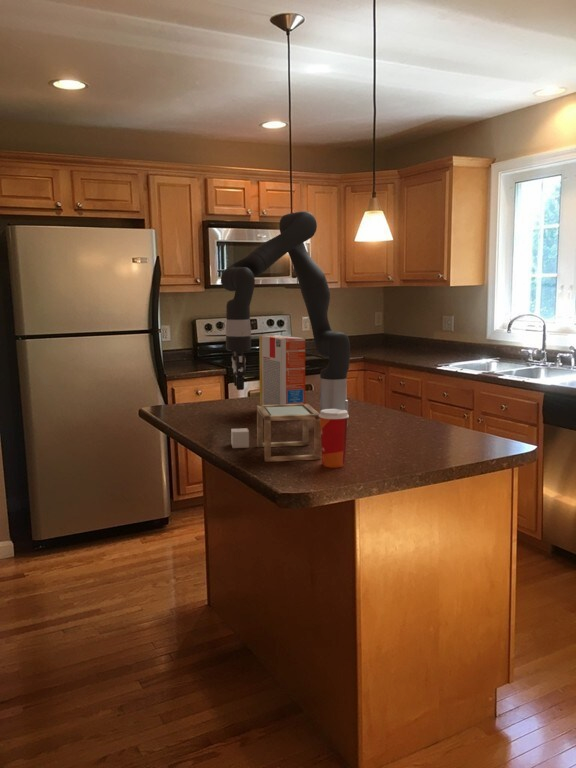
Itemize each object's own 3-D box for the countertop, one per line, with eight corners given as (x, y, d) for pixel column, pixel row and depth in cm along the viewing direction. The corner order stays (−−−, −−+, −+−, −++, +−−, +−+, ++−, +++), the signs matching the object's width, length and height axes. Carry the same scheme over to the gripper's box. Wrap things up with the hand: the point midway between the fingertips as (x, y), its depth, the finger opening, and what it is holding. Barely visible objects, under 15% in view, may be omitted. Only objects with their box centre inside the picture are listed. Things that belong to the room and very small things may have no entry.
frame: (307, 444, 202) (307, 403, 200) (320, 459, 183) (320, 414, 181) (257, 446, 199) (256, 405, 197) (265, 461, 181) (264, 416, 179)
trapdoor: (302, 409, 198) (302, 405, 198) (312, 418, 183) (312, 414, 183) (265, 410, 196) (265, 407, 196) (272, 419, 181) (272, 416, 181)
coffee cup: (330, 459, 183) (330, 407, 181) (354, 464, 178) (355, 410, 176) (312, 465, 177) (312, 411, 174) (336, 470, 171) (337, 415, 169)
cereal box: (305, 418, 244) (305, 338, 240) (286, 420, 240) (285, 339, 236) (277, 408, 264) (277, 334, 260) (259, 410, 260) (259, 335, 256)
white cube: (247, 443, 203) (247, 428, 202) (249, 447, 198) (248, 431, 197) (231, 444, 202) (231, 428, 201) (232, 448, 197) (232, 432, 196)
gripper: (253, 335, 189) (253, 390, 191) (248, 333, 203) (248, 384, 205) (227, 336, 188) (228, 391, 190) (224, 333, 201) (225, 384, 204)
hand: (238, 387), depth 197 cm, fingers open, 8 cm apart
